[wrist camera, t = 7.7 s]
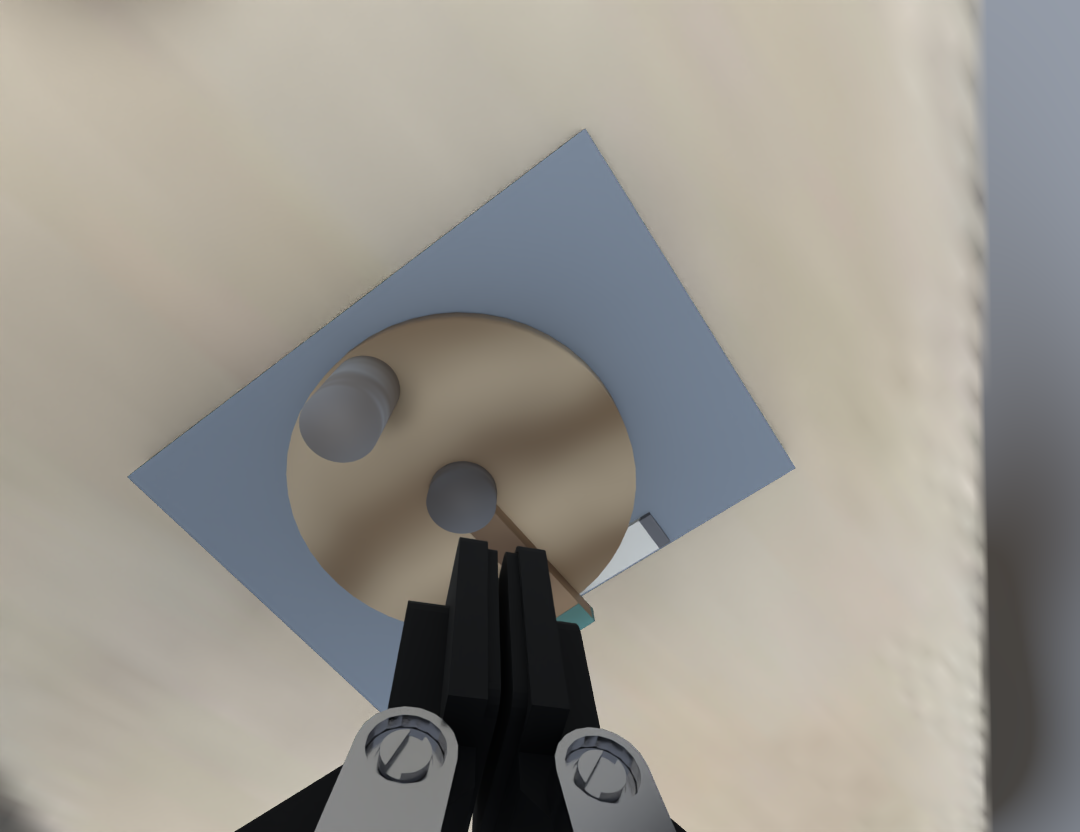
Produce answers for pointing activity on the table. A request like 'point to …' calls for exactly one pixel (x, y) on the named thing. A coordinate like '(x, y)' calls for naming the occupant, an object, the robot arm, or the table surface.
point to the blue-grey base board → (520, 295)
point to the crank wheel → (459, 461)
